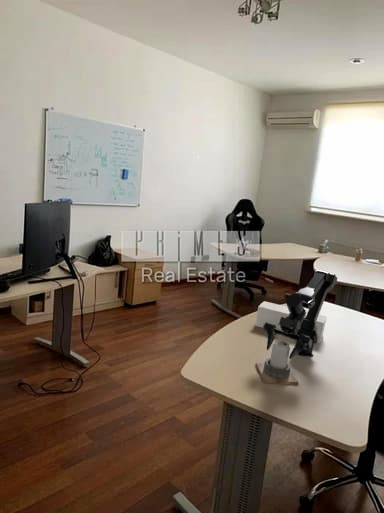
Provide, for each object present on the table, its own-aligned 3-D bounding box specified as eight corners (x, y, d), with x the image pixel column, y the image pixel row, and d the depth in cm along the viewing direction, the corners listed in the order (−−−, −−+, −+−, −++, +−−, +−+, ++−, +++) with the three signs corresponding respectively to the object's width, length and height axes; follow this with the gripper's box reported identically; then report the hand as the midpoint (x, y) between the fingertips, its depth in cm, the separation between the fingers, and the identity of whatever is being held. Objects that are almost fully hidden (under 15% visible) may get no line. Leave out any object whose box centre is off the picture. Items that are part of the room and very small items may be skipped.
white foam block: (322, 336, 192) (326, 316, 189) (319, 344, 182) (323, 322, 180) (260, 320, 205) (263, 301, 202) (255, 326, 195) (258, 306, 193)
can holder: (286, 367, 155) (288, 356, 154) (298, 384, 142) (300, 373, 141) (255, 365, 153) (257, 354, 152) (264, 382, 141) (265, 371, 140)
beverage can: (288, 376, 146) (293, 347, 143) (273, 376, 144) (278, 347, 141) (280, 367, 152) (285, 339, 149) (265, 368, 150) (270, 339, 147)
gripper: (269, 302, 151) (251, 335, 144) (315, 316, 140) (298, 353, 134) (274, 316, 159) (258, 348, 152) (318, 331, 148) (302, 366, 142)
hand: (278, 353), depth 145 cm, fingers open, 9 cm apart
